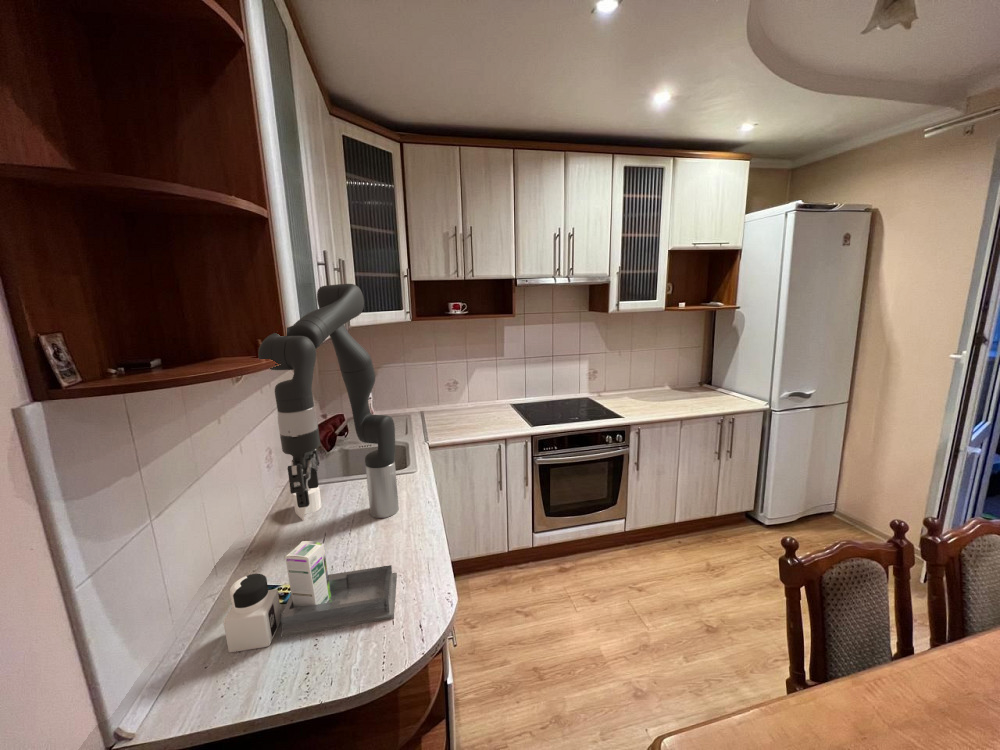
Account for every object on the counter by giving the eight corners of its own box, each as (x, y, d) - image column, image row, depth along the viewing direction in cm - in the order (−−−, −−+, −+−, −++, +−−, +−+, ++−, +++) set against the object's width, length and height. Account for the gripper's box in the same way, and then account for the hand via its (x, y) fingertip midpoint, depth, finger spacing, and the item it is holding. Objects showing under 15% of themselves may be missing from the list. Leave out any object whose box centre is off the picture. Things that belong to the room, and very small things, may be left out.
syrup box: (316, 616, 89) (309, 557, 86) (292, 613, 90) (284, 555, 87) (331, 597, 94) (324, 541, 92) (309, 594, 95) (301, 539, 93)
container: (282, 618, 90) (274, 566, 87) (269, 647, 82) (260, 591, 80) (245, 623, 89) (236, 571, 86) (228, 653, 81) (217, 597, 79)
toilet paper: (303, 521, 130) (300, 501, 128) (291, 508, 138) (289, 490, 136) (328, 511, 135) (326, 492, 134) (316, 500, 143) (313, 482, 142)
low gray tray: (300, 591, 98) (298, 576, 97) (396, 575, 103) (395, 562, 102) (281, 637, 85) (279, 621, 84) (394, 617, 89) (392, 602, 88)
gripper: (290, 419, 93) (299, 484, 96) (268, 442, 79) (280, 516, 83) (324, 416, 94) (332, 480, 98) (309, 438, 81) (319, 511, 84)
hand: (309, 496), depth 90 cm, fingers open, 8 cm apart
